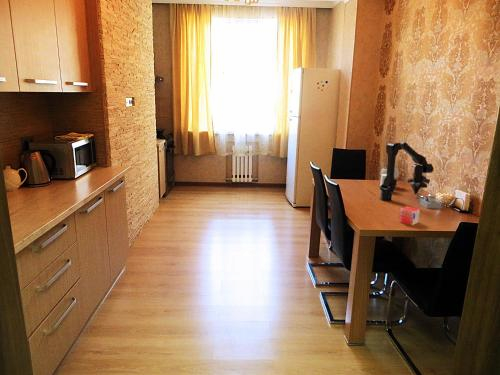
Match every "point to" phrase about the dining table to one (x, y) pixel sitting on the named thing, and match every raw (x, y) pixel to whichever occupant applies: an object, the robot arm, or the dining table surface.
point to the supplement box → (382, 178)
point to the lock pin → (420, 195)
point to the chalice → (396, 172)
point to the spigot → (431, 198)
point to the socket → (430, 204)
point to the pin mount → (422, 198)
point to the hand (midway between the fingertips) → (415, 194)
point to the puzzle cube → (409, 215)
